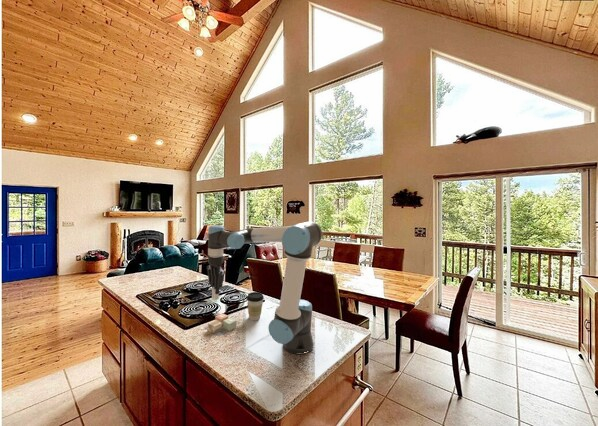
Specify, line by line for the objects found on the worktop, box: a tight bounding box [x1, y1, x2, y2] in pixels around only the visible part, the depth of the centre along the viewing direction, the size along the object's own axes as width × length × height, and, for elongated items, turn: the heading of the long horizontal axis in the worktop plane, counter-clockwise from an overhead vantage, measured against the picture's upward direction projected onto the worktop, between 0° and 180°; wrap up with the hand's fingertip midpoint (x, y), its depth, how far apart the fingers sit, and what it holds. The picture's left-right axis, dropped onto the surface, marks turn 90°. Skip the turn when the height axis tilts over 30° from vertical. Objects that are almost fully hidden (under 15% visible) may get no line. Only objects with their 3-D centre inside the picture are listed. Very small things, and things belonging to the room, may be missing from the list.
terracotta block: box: [214, 312, 229, 325], centre depth 160 cm, size 5×5×4 cm
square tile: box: [204, 325, 229, 337], centre depth 155 cm, size 12×12×1 cm
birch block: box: [207, 320, 222, 335], centre depth 152 cm, size 5×5×4 cm
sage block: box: [223, 316, 238, 332], centre depth 156 cm, size 5×5×4 cm
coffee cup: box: [246, 291, 265, 321], centre depth 167 cm, size 10×10×15 cm
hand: (215, 299), depth 150 cm, fingers closed
